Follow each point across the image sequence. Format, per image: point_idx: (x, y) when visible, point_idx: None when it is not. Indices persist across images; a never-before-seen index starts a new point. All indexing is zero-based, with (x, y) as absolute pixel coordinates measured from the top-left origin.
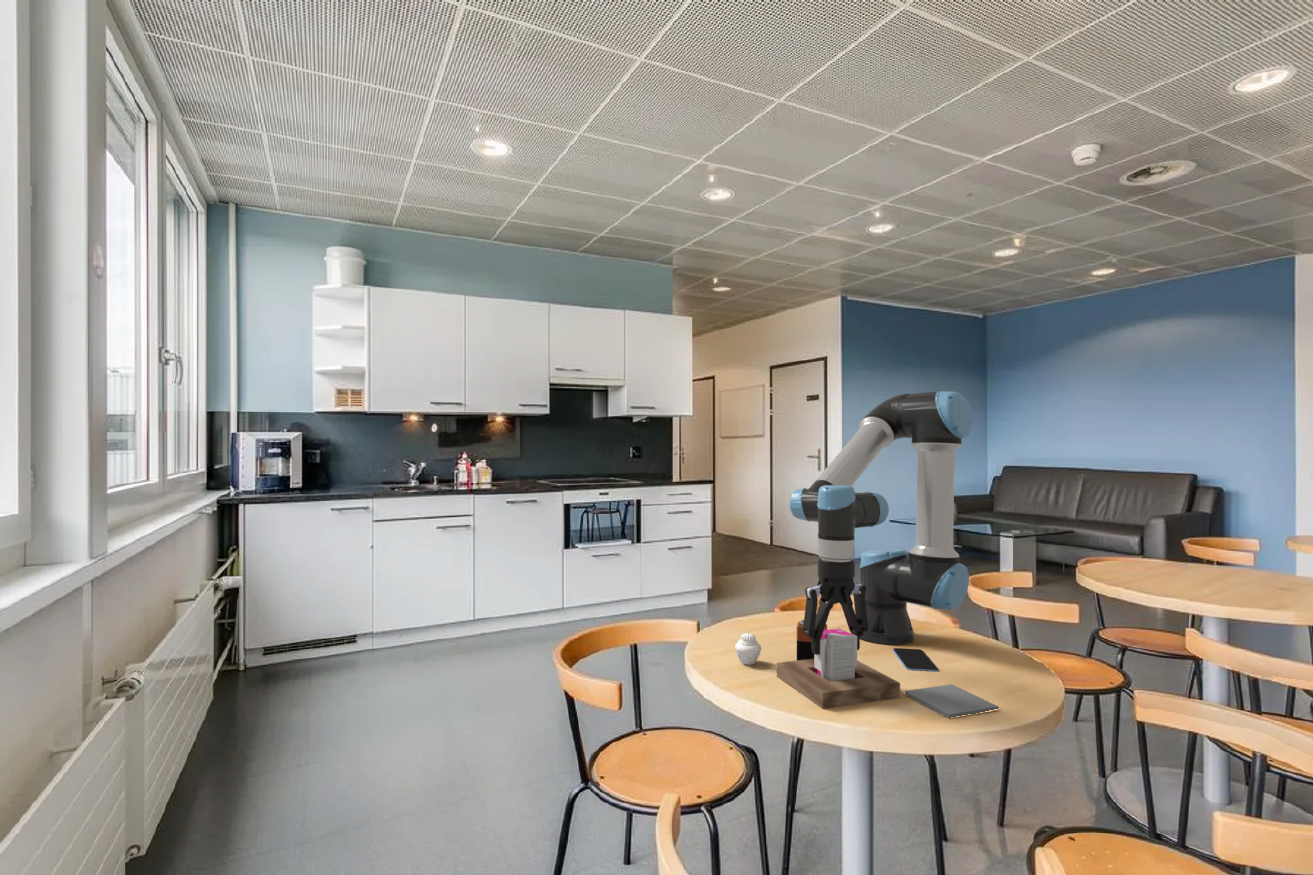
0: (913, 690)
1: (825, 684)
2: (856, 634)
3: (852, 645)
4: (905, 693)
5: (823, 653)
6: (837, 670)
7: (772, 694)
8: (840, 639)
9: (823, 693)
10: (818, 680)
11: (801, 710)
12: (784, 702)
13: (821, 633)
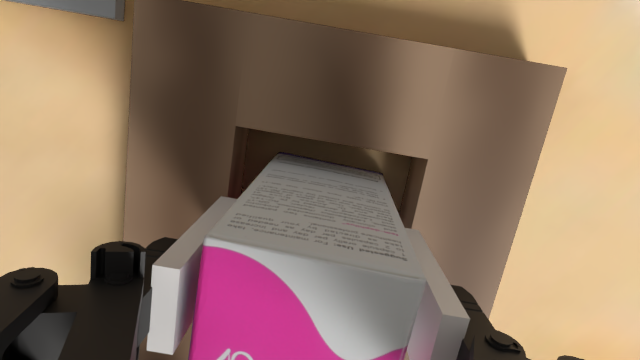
0: (76, 3)
1: (469, 144)
2: (142, 282)
3: (249, 212)
4: (120, 14)
5: (428, 268)
6: (361, 189)
7: (583, 262)
8: (348, 252)
9: (561, 67)
10: (460, 194)
11: (612, 97)
12: (605, 186)
13: (487, 355)
